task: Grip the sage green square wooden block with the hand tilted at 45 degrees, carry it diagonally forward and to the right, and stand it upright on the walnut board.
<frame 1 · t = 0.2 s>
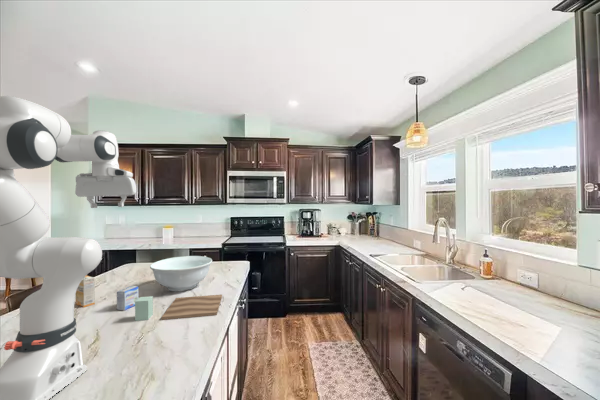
hand: (107, 207, 104), 47 cm above the counter, tool pointing down, fingers open, 8 cm apart
green block: (144, 317, 110), on the counter
walnut board: (195, 307, 121), on the counter
medicine box: (128, 307, 122), on the counter
bowl: (182, 287, 150), on the counter
supplement box: (85, 304, 125), on the counter
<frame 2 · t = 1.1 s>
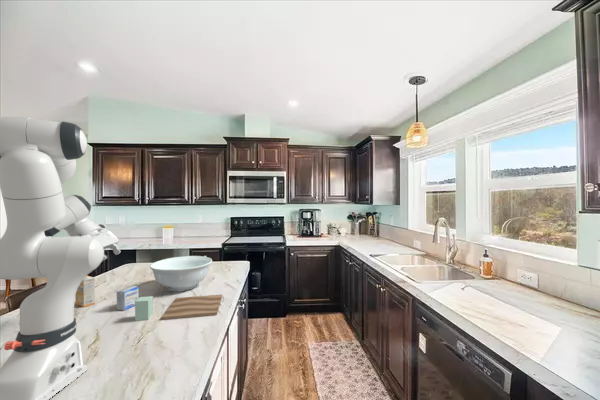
hand: (112, 256, 108), 27 cm above the counter, tool tilted 45°, fingers open, 8 cm apart
nothing on the counter moved.
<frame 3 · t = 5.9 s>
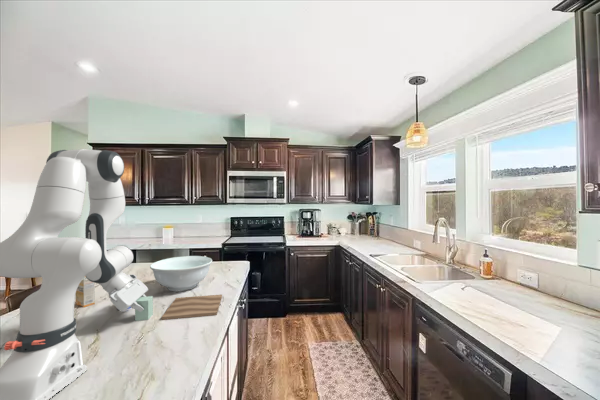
hand: (145, 307, 110), 4 cm above the counter, tool tilted 45°, fingers closed on green block, 5 cm apart
green block: (144, 317, 110), on the counter, touching gripper
everything else where it was.
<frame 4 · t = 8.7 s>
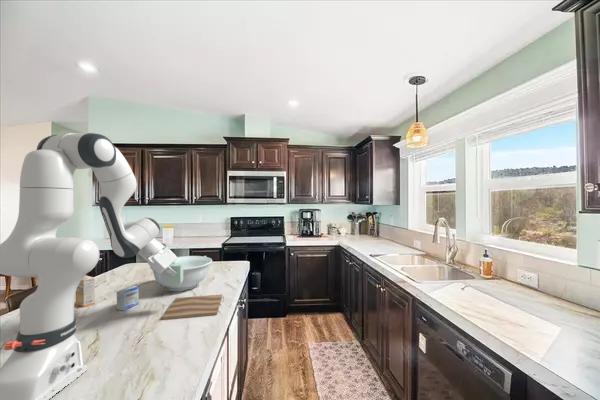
hand: (177, 272, 117), 17 cm above the counter, tool tilted 45°, fingers closed on green block, 5 cm apart
green block: (176, 282, 117), point 13 cm above the counter, touching gripper
everything else where it was.
when the fingers open (7 cm above the counter, at t = 11.4 s): green block drops 1 cm, resting on walnut board.
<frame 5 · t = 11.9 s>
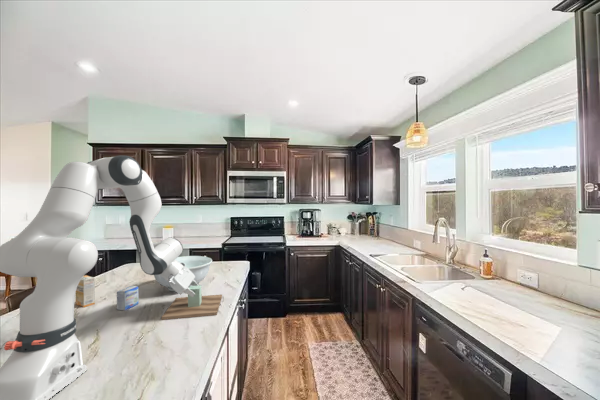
hand: (196, 291, 121), 7 cm above the counter, tool tilted 45°, fingers open, 8 cm apart
green block: (194, 304, 121), point 1 cm above the counter, touching walnut board
everything else where it was.
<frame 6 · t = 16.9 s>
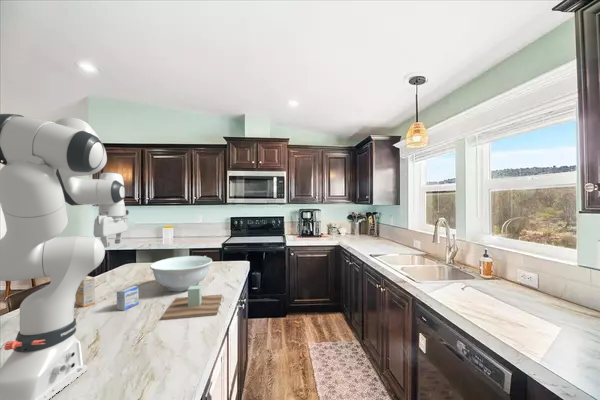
hand: (112, 245, 108), 31 cm above the counter, tool pointing down, fingers open, 8 cm apart
nothing on the counter moved.
at the end: green block inside the target area on the walnut board (0.1 cm from its centre), point 1.2 cm above the walnut board's base; green block tilted 0°; the gripper is holding nothing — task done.
